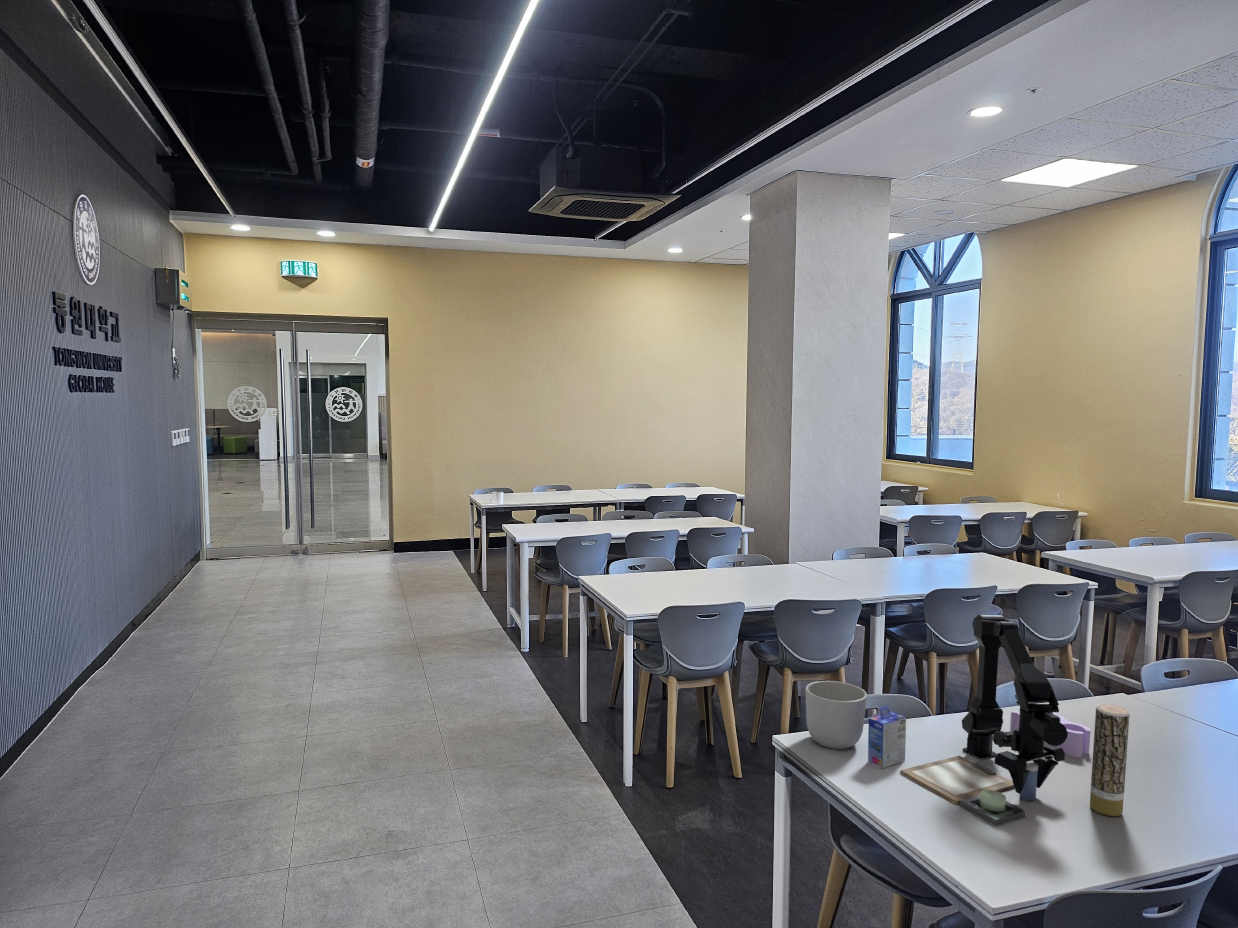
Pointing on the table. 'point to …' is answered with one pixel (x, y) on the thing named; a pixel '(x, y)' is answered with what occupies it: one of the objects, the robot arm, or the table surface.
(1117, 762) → the paper tube
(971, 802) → the button bezel
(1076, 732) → the clip
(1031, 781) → the blue cylinder
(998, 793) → the button
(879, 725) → the ink cartridge box
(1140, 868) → the table surface
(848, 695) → the planter
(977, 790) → the clipboard
